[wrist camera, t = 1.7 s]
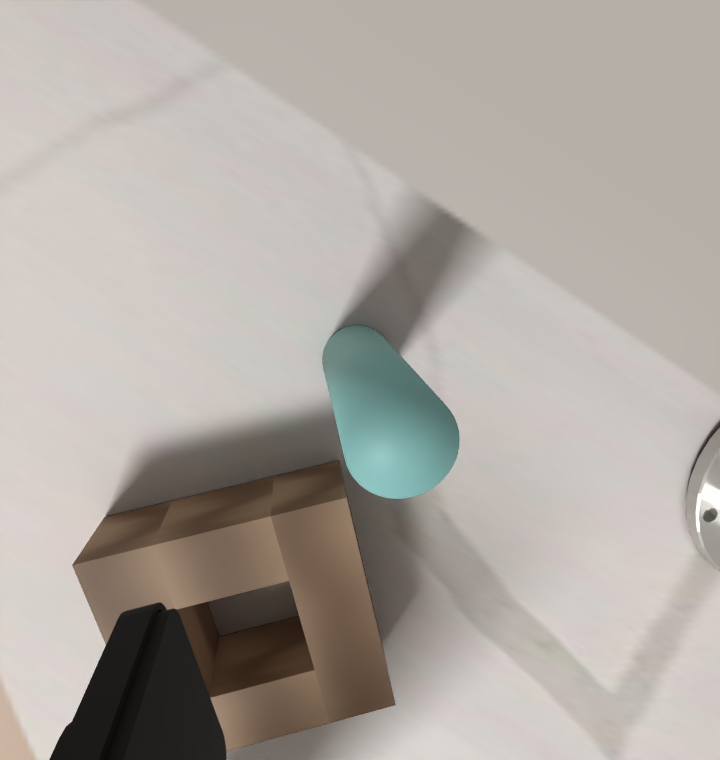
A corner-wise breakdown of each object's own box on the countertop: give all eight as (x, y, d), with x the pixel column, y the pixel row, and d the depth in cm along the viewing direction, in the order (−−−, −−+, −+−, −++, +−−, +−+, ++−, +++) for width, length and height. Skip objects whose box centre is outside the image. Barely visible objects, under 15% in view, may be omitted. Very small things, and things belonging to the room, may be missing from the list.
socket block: (338, 460, 27) (346, 497, 23) (382, 645, 30) (395, 704, 26) (104, 516, 26) (72, 565, 22) (176, 700, 29) (158, 769, 26)
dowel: (384, 318, 25) (450, 376, 15) (396, 383, 26) (467, 483, 16) (315, 333, 25) (331, 404, 14) (330, 399, 26) (356, 511, 15)
